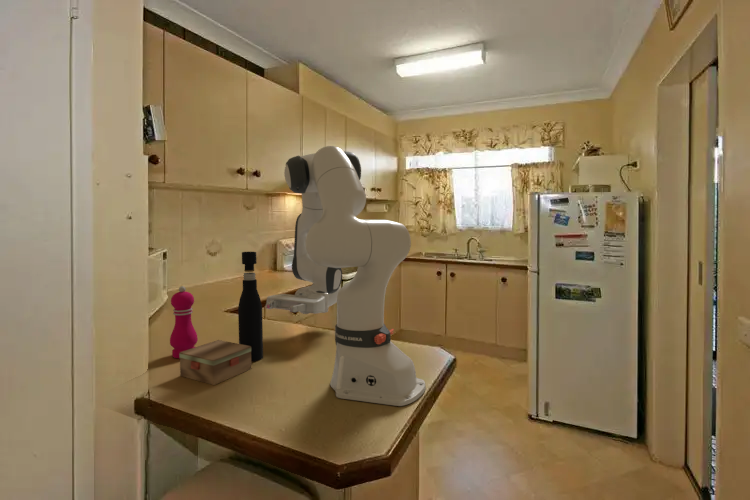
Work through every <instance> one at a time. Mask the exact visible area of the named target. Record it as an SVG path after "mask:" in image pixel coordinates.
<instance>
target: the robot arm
mask: <svg viewBox="0 0 750 500" xmlns="http://www.w3.org/2000/svg"><path fill="white" fill-rule="evenodd" d="M283 173H284V174H283V175H284V179H285V182H286V184H287V187H289V190H290V191H291V192H292V193H294V194H301V203H302V204H301V205H302V208H301V213H299V215H298V216H297V217H296V220H295V225H294V226H295V228H294V240H293V241H294V245H293V258H292V261H291V262H292V263H291V271H292V274H293V276H294V278H295V279H296V280H301V281H305V282H309V283H312V284H311V285H308V286H304V287H300V288H299V289H297V290H296V291H295V293H294V294H288V293H287V294H286V293H279V294H273V295H268V296H267V297H266V303H265V308H266V309H267V310H272V309H277V310H285V311H289V312H291V313H298V312H299V313H301V314H303V315H308V314H320V313H322V314H325V313H328V312H329V307H331V306H333V305H335V304H336V324H335V325H334V328H335V329H334V339H335V340H334V341H335V346H336V349H335V357H334V358H335V359H334V364H333V365H334V367H333V372H332V375H331V380H330V384H329V385H330V387H331V388H332V389H333V390H334V391H335V396H336V398H337V399H342V400H343V399H345V400H351V401H358V402H365V403H372V404H373V403H374V404H379V405H387V406H395V407H397V406H398V407H404V406H407V405H409V404H411V403H414V402H415V401H417V400H418V399H420V398H421V397H422V395H423V394H424V393H425V391H426V390H427V389H426V388H427V387H426V382H425V380H424V379H422V378H418V377H417V374H416V366H415V364H414V361H413V360H412V358H411V357H410V356H408V355H407V354H406V353H405V352H403V351H402V350H401V349H400V348H399V347H398V346H397V345H395V344H394V342H392V341H391V335H393V334H394V328H391V329H388V327H387V326H386V324H385V319H384V318H385V314H384V313H385V301H386V300H385V298H386V297H385V296H386V292H387V287H388V284H389V282H390V279H391V277H392V275H393V274H394V271H395V270H396V269H397V267H398V266H399V265H400V263H402V262H403V261H404V260H405V259H406V258H407V257H408V255H409V253H410V250H411V245H412V240H411V239H412V238H411V234H410V231H409V230H408V228H407V227H406V225H404V224H403V223H401V222H397V221H394V220H390V219H381V218H380V219H377V218H376V219H375V218H374V219H370V218H369V219H366V218H364V219H362V218H358V217H357V216H358V215H360V214H361V213H362V211H363V210H364V208H365V206H366V203H367V194H366V192H365V189H364V187H363V185H362V182H361V179H362V165H361V162H360V159H359V157H358V156H357V155H356V154H355V153H354V152H353V151H352V152H351V151H344V150H342V148H340V147H338V146H334V145H327V146H323V147H321V148H320V149H318V150H317V151H316V152H315V153H308V154H304V155H301V156H300V155H296V156H293V157H290V158H288V159H287V161H286V162H285V166H284V172H283ZM342 268H343V269H344V268H357V269H356V272H355V275H354V276H353V278H352V279H351V280H350V281H349V282H347V283H345V284H344V285H343V286H342V287H341V284H342V282H343V281H342V280H343V271H342Z"/></svg>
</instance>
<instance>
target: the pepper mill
mask: <svg viewBox="0 0 750 500" xmlns="http://www.w3.org/2000/svg"><path fill="white" fill-rule="evenodd" d="M194 302H195V297H194V295H193V294H192V293H191V292H190V291H186V287H185V286H184V285H183V286H179V288H178V292H176V293H174V294H173V295H172V296H171V299H170V304H171V307H173V309H172V311H173V314H172V315H174V317H175V318H174V327H173V329H172V332H171V334H170V338H169V344H170V346H171V347H172V348H173V349H172V352H171V353H172V355H171V356H172V358H173V357H174V358H173V359H179V360H180V358H179V354H180V352H182V351H185V350H189V349H192V348H195V347H196V346H195V345H197V343H198V334H197V331H196V329H195V327H194V325H193V323H192V313H193V311H194V310H193V307H192V306H193V305H194V304H195V303H194Z"/></svg>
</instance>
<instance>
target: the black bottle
mask: <svg viewBox="0 0 750 500" xmlns="http://www.w3.org/2000/svg"><path fill="white" fill-rule="evenodd" d="M241 264H242V265H244V273H243V280H242V291H241V293H240V297H239V302H238V307H237V311H238V312H237V313H238V316H237V317H238V319H237V321H238V344H242V345H247V346H251V363H252V362H258V361H261V360H262V359H264V337H263V336H264V335H263V332H264V331H263V304H262V301H261V297H260V294H259V292H258V286H257V285H258V282H257V281H258V280H257V279H256V276H257V274H256V272H255V264H257V252H256V251H242V252H241Z"/></svg>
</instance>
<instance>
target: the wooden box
mask: <svg viewBox="0 0 750 500" xmlns="http://www.w3.org/2000/svg"><path fill="white" fill-rule="evenodd" d="M194 347H195V348H192V349H189V350H185V351H182V352H180V354H179V358H180V359H179V358H178V359H179V375H180V377H183V378H187V379H191V380H193V381H198V382H202V383H204V384H209V385H213V386H215V385H218V384H219V383H222V382H224V381H226V380H228V379H232V378H233V377H236V376H238V375H241V374H242V373H245V372H247V371H249V370H250V371H251V369H252V362H251V346H247V345H242V344H239V343H238V342H237V343H236V342H231V341H226V340H220V339H216V340H213V341H211V342H208V343H205V344H202V345H198V346H194Z"/></svg>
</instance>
